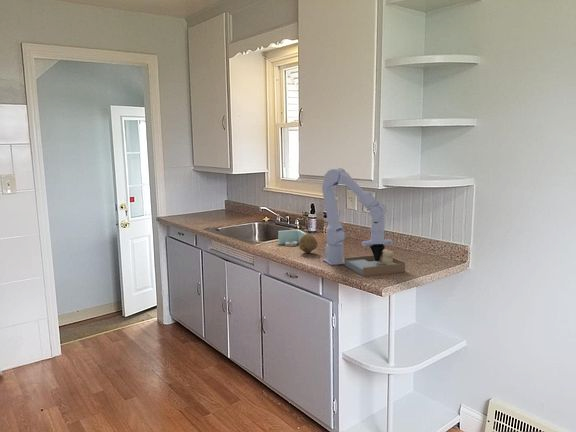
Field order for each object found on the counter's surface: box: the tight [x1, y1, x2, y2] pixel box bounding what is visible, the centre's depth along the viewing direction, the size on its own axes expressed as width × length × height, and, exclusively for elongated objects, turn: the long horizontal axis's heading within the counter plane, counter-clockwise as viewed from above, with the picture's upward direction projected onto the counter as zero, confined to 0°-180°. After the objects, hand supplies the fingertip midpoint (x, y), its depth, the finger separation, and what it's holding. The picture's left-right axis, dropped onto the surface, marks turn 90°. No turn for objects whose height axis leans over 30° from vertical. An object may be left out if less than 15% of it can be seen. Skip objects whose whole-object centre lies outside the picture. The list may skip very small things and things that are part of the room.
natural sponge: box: [298, 233, 318, 254], centre depth 239 cm, size 9×9×10 cm
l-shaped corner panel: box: [277, 229, 307, 247], centre depth 258 cm, size 12×12×8 cm
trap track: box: [343, 254, 406, 277], centre depth 210 cm, size 19×20×4 cm
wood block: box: [378, 249, 394, 264], centre depth 212 cm, size 5×5×5 cm
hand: (376, 260), depth 211 cm, fingers closed
